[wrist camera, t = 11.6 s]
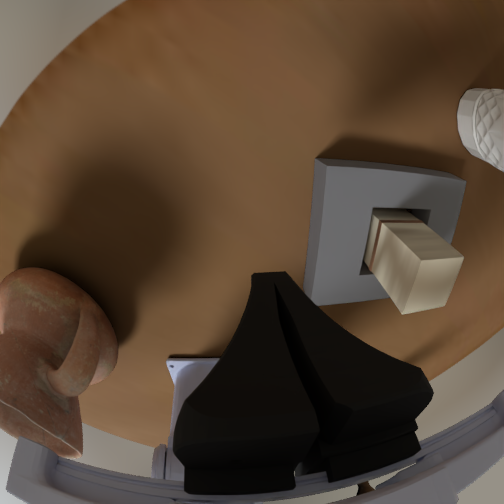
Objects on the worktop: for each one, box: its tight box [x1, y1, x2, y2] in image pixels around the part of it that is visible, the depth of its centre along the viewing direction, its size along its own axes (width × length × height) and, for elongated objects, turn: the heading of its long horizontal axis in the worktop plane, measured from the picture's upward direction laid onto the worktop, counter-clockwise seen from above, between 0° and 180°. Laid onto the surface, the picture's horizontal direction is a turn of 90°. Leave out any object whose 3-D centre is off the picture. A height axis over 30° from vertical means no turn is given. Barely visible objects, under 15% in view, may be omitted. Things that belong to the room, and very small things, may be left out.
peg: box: [363, 208, 464, 314], centre depth 18 cm, size 4×4×8 cm
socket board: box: [303, 158, 466, 306], centre depth 20 cm, size 11×13×2 cm
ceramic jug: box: [0, 267, 118, 459], centre depth 17 cm, size 18×14×14 cm
